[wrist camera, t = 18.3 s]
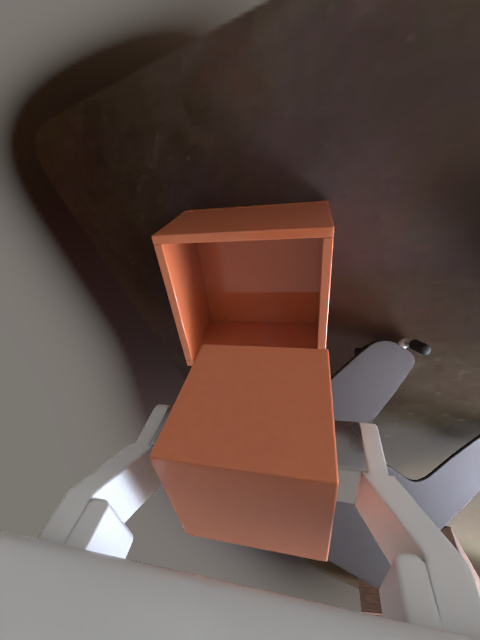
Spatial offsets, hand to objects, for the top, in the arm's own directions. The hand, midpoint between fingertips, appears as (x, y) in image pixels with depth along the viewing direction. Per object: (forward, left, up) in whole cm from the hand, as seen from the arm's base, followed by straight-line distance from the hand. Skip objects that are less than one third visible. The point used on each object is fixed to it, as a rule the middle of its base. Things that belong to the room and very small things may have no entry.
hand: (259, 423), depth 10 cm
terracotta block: (0, 0, -2) cm, 2 cm away
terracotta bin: (+2, -3, -17) cm, 17 cm away
